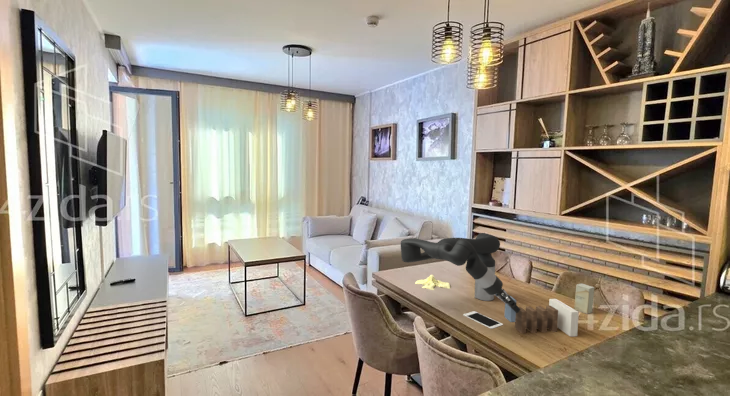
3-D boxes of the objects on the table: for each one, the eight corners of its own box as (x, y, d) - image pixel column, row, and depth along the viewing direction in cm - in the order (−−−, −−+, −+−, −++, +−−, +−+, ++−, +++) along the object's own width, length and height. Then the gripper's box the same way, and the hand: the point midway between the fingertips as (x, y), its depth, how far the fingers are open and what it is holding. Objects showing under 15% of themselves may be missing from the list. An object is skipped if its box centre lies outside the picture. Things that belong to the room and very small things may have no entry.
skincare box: (573, 309, 165) (575, 284, 164) (579, 307, 167) (580, 282, 166) (587, 314, 160) (589, 288, 159) (593, 312, 162) (594, 287, 161)
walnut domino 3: (542, 332, 142) (543, 310, 141) (534, 326, 147) (535, 306, 146) (546, 332, 142) (547, 310, 142) (539, 326, 147) (540, 305, 147)
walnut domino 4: (552, 331, 143) (553, 310, 142) (544, 326, 148) (545, 305, 147) (556, 331, 143) (558, 310, 142) (549, 326, 148) (550, 305, 147)
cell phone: (474, 312, 163) (474, 310, 163) (503, 325, 149) (503, 324, 149) (462, 315, 159) (462, 314, 159) (491, 329, 145) (491, 328, 145)
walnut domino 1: (521, 333, 141) (522, 311, 140) (514, 327, 146) (515, 306, 145) (525, 333, 141) (526, 311, 141) (519, 327, 146) (520, 306, 146)
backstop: (570, 336, 139) (571, 312, 138) (548, 321, 153) (549, 298, 152) (577, 336, 139) (578, 311, 138) (554, 320, 153) (555, 298, 152)
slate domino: (510, 322, 140) (511, 300, 139) (504, 316, 145) (505, 295, 144) (515, 322, 140) (516, 300, 139) (509, 316, 145) (510, 295, 144)
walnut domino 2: (531, 332, 142) (532, 311, 141) (524, 327, 147) (525, 306, 146) (536, 332, 142) (537, 311, 141) (529, 326, 147) (530, 306, 146)
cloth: (457, 288, 195) (457, 277, 195) (430, 293, 187) (430, 282, 187) (432, 276, 215) (433, 267, 215) (407, 281, 207) (407, 271, 206)
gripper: (473, 281, 147) (499, 307, 149) (489, 293, 133) (517, 322, 135) (486, 268, 147) (512, 295, 150) (503, 279, 133) (531, 309, 135)
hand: (514, 308), depth 142 cm, fingers closed on slate domino, 5 cm apart
